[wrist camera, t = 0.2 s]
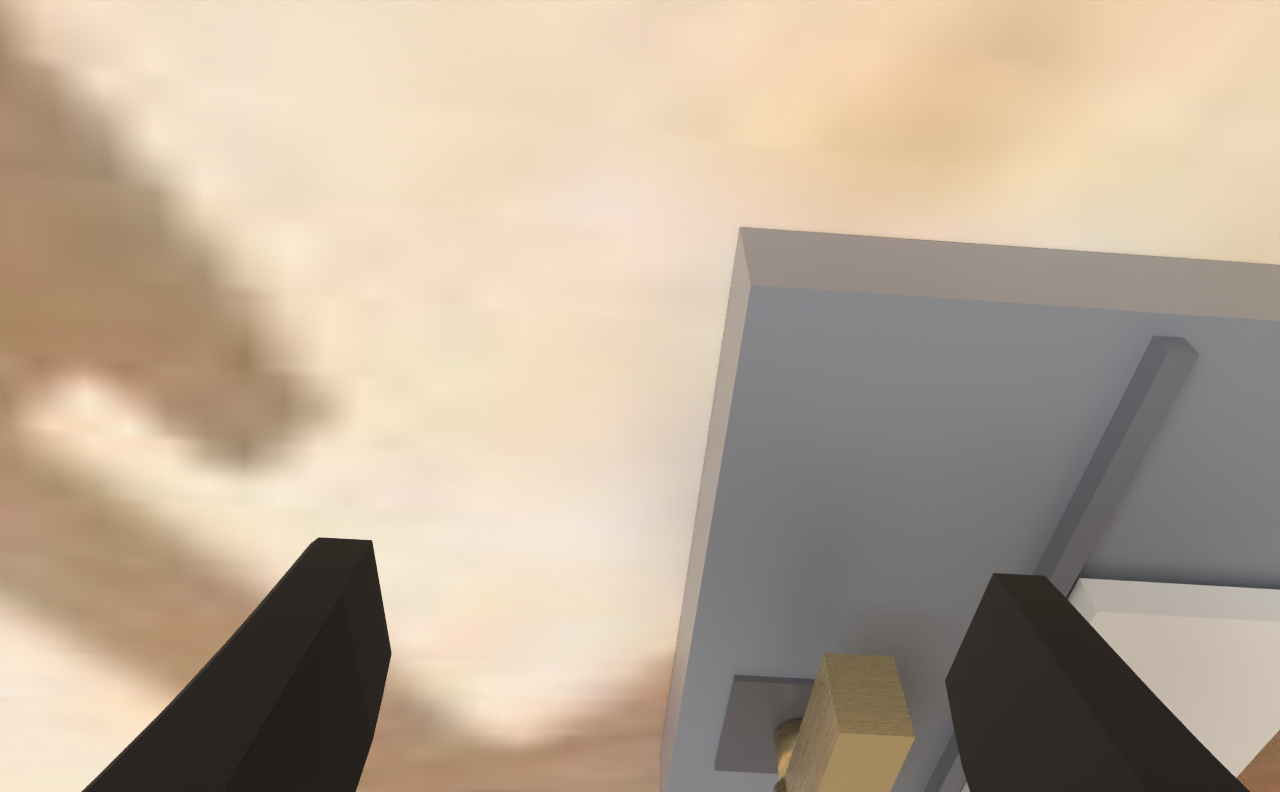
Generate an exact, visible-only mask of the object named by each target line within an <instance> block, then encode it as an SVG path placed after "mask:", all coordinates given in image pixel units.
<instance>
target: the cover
mask: <svg viewBox="0 0 1280 792" xmlns="http://www.w3.org/2000/svg"><path fill="white" fill-rule="evenodd" d="M1067 600H1068V601H1069V602H1070V603H1071V604H1072V605H1073V606H1074V607H1075V608H1076V609H1077V610H1078V612H1079V613H1080V614H1081V615H1082V616H1083V617H1084V618H1085V619H1086V620H1087V621H1088V622H1089V623H1090V625H1091V626H1092V627H1093V628H1094V629H1095V630H1096V631H1097V632H1098V633H1099V634H1100V635H1101V637H1102V638H1103V639H1104V640H1105V641H1106V642H1107V643H1108V644H1109V645H1110V646H1111V647H1112V649H1113V650H1114V651H1115V652H1116V653H1117V654H1118V655H1119V656H1120V657H1121V658H1122V659H1123V660H1124V662H1125V663H1126V664H1127V665H1128V666H1129V667H1130V668H1131V669H1132V670H1133V671H1134V672H1135V673H1136V675H1137V676H1138V677H1139V678H1140V679H1141V680H1142V681H1143V682H1144V683H1145V684H1146V685H1147V686H1148V687H1149V689H1150V690H1151V691H1152V692H1153V693H1154V694H1155V695H1156V696H1157V697H1158V698H1159V699H1160V700H1161V701H1162V702H1163V703H1164V704H1165V706H1166V707H1167V708H1168V709H1169V710H1170V711H1171V712H1172V713H1173V714H1174V715H1175V716H1176V717H1177V718H1178V719H1179V720H1180V721H1181V722H1182V723H1183V724H1184V725H1185V726H1186V728H1187V729H1188V730H1189V731H1190V732H1191V733H1192V734H1193V735H1194V736H1195V737H1196V738H1197V739H1198V740H1199V741H1200V742H1201V743H1202V744H1203V745H1204V746H1205V747H1206V748H1207V749H1208V750H1209V751H1210V752H1211V753H1212V754H1213V755H1214V756H1215V757H1216V758H1217V759H1218V760H1219V761H1220V762H1221V763H1222V764H1223V765H1224V766H1225V767H1226V768H1227V769H1228V770H1229V771H1230V772H1231V773H1232V774H1233V775H1234V776H1235V777H1236V778H1237V776H1238V775H1239V774H1240V773H1241V772H1242V771H1243V770H1244V769H1245V768H1246V766H1247V765H1248V764H1249V763H1250V762H1251V761H1252V760H1253V759H1254V757H1255V756H1256V755H1257V754H1258V753H1259V752H1260V751H1261V750H1262V749H1263V747H1264V746H1265V745H1266V744H1267V743H1268V742H1269V741H1270V740H1271V739H1272V737H1273V736H1274V735H1275V734H1276V733H1277V732H1278V731H1279V730H1280V590H1278V589H1261V588H1243V587H1226V586H1209V585H1191V584H1174V583H1156V582H1139V581H1122V580H1104V579H1087V578H1079V579H1078V581H1077V583H1076V585H1075V586H1074V588H1073V590H1072V592H1071V594H1070V595H1069V597H1068V599H1067ZM961 792H970V790H969V787H968V784H967V782H966V784H965V785H964V787H963V789H962V791H961Z"/></svg>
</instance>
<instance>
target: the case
mask: <svg viewBox="0 0 1280 792" xmlns="http://www.w3.org/2000/svg"><path fill="white" fill-rule="evenodd" d="M993 573H1003V574H1022V575H1041V576H1045V577H1046V578H1047V579H1048V580H1049V581H1050V582H1051V583H1052V584H1053V585H1054V586H1055V587H1056V588H1057V589H1058V590H1059V591H1060V592H1061V593H1062V594H1063V595H1064V596H1065V597H1066V599H1068V597H1069V595H1070V594H1071V592H1072V590H1073V588H1074V586H1075V585H1076V583H1077V581H1078V579H1079V578H1087V579H1104V580H1122V581H1139V582H1156V583H1174V584H1191V585H1209V586H1226V587H1243V588H1261V589H1278V590H1280V265H1270V264H1256V263H1241V262H1227V261H1213V260H1199V259H1184V258H1170V257H1156V256H1142V255H1128V254H1113V253H1099V252H1085V251H1071V250H1056V249H1042V248H1028V247H1014V246H1000V245H985V244H971V243H957V242H943V241H928V240H914V239H900V238H886V237H872V236H857V235H843V234H829V233H815V232H800V231H786V230H772V229H758V228H744V227H740V229H739V235H738V242H737V249H736V255H735V262H734V268H733V275H732V282H731V288H730V295H729V301H728V308H727V315H726V321H725V328H724V334H723V341H722V348H721V354H720V361H719V368H718V374H717V381H716V387H715V394H714V401H713V407H712V414H711V420H710V427H709V434H708V440H707V447H706V453H705V460H704V467H703V473H702V480H701V486H700V493H699V500H698V506H697V513H696V519H695V526H694V533H693V539H692V546H691V552H690V559H689V566H688V572H687V579H686V585H685V592H684V599H683V605H682V612H681V618H680V625H679V632H678V638H677V645H676V651H675V658H674V665H673V671H672V678H671V684H670V691H669V698H668V704H667V711H666V718H665V724H664V731H663V737H662V744H661V751H660V792H773V788H774V786H775V784H776V783H777V782H778V781H779V777H778V769H777V761H776V753H775V745H774V733H775V731H776V729H777V728H778V727H780V726H781V725H783V724H785V723H787V722H789V721H793V720H798V719H803V717H804V714H805V711H806V707H807V704H808V701H809V698H810V695H811V692H812V688H813V685H814V682H815V679H816V676H817V673H818V669H819V666H820V663H821V660H822V657H823V654H824V653H840V654H858V655H876V656H894V660H895V664H896V667H897V671H898V675H899V678H900V682H901V686H902V689H903V693H904V697H905V700H906V704H907V708H908V711H909V715H910V719H911V722H912V726H913V730H914V733H915V739H914V741H913V743H912V746H911V748H910V750H909V752H908V754H907V756H906V759H905V761H904V763H903V765H902V767H901V769H900V772H899V774H898V776H897V778H896V780H895V783H894V785H893V787H892V789H891V791H890V792H961V791H962V789H963V787H964V785H965V784H966V782H967V781H966V778H965V774H964V771H963V768H962V764H961V759H960V755H959V750H958V745H957V741H956V736H955V732H954V727H953V721H952V716H951V711H950V705H949V700H948V695H947V689H946V684H945V679H946V677H947V675H948V672H949V670H950V668H951V666H952V664H953V661H954V659H955V657H956V655H957V652H958V650H959V648H960V646H961V644H962V641H963V639H964V637H965V635H966V632H967V630H968V628H969V626H970V623H971V621H972V619H973V617H974V615H975V612H976V610H977V608H978V606H979V603H980V601H981V599H982V597H983V594H984V592H985V590H986V588H987V586H988V583H989V581H990V579H991V577H992V574H993Z"/></svg>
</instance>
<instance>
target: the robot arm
mask: <svg viewBox="0 0 1280 792" xmlns="http://www.w3.org/2000/svg"><path fill="white" fill-rule="evenodd" d="M390 658H391V648H390V642H389V636H388V630H387V625H386V619H385V613H384V607H383V601H382V595H381V590H380V584H379V578H378V572H377V566H376V560H375V555H374V549H373V543H372V540H357V539H338V538H317V539H316V540H315V541H314V542H312V543H311V544H310V545H309V546H308V547H307V549H306V550H305V551H304V552H303V553H302V555H301V556H300V557H299V558H298V559H297V561H296V562H295V563H294V564H293V565H292V567H291V568H290V569H289V570H288V571H287V572H286V574H285V575H284V576H283V577H282V578H281V580H280V581H279V582H278V583H277V584H276V586H275V587H274V588H273V589H272V590H271V591H270V593H269V594H268V595H267V596H266V597H265V598H264V600H263V601H262V602H261V603H260V604H259V605H258V607H257V608H256V609H255V610H254V611H253V612H252V614H251V615H250V616H249V617H248V618H247V619H246V620H245V622H244V623H243V624H242V625H241V626H240V627H239V628H238V630H237V631H236V632H235V633H234V634H233V635H232V636H231V638H230V639H229V640H228V641H227V642H226V643H225V644H224V645H223V646H222V647H221V649H220V650H219V651H218V652H217V653H216V654H215V655H214V656H213V657H212V658H211V659H210V661H209V662H208V663H207V664H206V665H205V666H204V667H203V668H202V669H201V670H200V671H199V673H198V674H197V675H196V676H195V677H194V678H193V679H192V680H191V681H190V682H189V683H188V684H187V686H186V687H185V688H184V689H183V690H182V691H181V692H180V693H179V694H178V695H177V696H176V698H175V699H174V700H173V701H172V702H171V703H170V704H169V705H168V706H167V707H166V708H165V709H164V710H163V711H162V712H161V713H160V714H159V715H158V716H157V717H156V718H155V719H154V720H153V721H152V722H151V723H150V724H149V725H148V726H147V727H146V728H145V729H144V730H143V731H142V732H141V733H140V734H139V735H138V736H137V737H136V738H135V739H134V740H133V741H132V742H131V743H130V744H129V745H128V746H127V747H126V748H125V749H124V750H123V751H122V752H121V753H120V754H119V755H118V756H117V757H116V758H115V759H114V760H113V761H112V762H111V763H110V764H109V765H108V766H107V767H106V768H105V769H104V770H103V771H102V772H101V773H100V774H99V775H98V776H97V777H96V778H95V779H94V780H93V781H92V782H91V783H90V784H89V785H88V786H87V787H86V788H85V789H84V790H83V791H82V792H356V789H357V786H358V783H359V780H360V777H361V774H362V771H363V768H364V765H365V762H366V759H367V756H368V753H369V750H370V747H371V743H372V740H373V737H374V732H375V728H376V723H377V719H378V714H379V710H380V706H381V701H382V697H383V692H384V687H385V682H386V677H387V673H388V668H389V663H390ZM945 684H946V689H947V695H948V700H949V705H950V711H951V716H952V721H953V727H954V732H955V736H956V741H957V745H958V750H959V755H960V759H961V764H962V768H963V771H964V774H965V778H966V781H967V784H968V787H969V790H970V792H1250V791H1249V790H1248V789H1247V788H1246V787H1245V786H1244V785H1243V784H1242V783H1241V782H1240V781H1239V780H1238V779H1237V778H1236V777H1235V776H1234V775H1233V774H1232V773H1231V772H1230V771H1229V770H1228V769H1227V768H1226V767H1225V766H1224V765H1223V764H1222V763H1221V762H1220V761H1219V760H1218V759H1217V758H1216V757H1215V756H1214V755H1213V754H1212V753H1211V752H1210V751H1209V750H1208V749H1207V748H1206V747H1205V746H1204V745H1203V744H1202V743H1201V742H1200V741H1199V740H1198V739H1197V738H1196V737H1195V736H1194V735H1193V734H1192V733H1191V732H1190V731H1189V730H1188V729H1187V728H1186V726H1185V725H1184V724H1183V723H1182V722H1181V721H1180V720H1179V719H1178V718H1177V717H1176V716H1175V715H1174V714H1173V713H1172V712H1171V711H1170V710H1169V709H1168V708H1167V707H1166V706H1165V704H1164V703H1163V702H1162V701H1161V700H1160V699H1159V698H1158V697H1157V696H1156V695H1155V694H1154V693H1153V692H1152V691H1151V690H1150V689H1149V687H1148V686H1147V685H1146V684H1145V683H1144V682H1143V681H1142V680H1141V679H1140V678H1139V677H1138V676H1137V675H1136V673H1135V672H1134V671H1133V670H1132V669H1131V668H1130V667H1129V666H1128V665H1127V664H1126V663H1125V662H1124V660H1123V659H1122V658H1121V657H1120V656H1119V655H1118V654H1117V653H1116V652H1115V651H1114V650H1113V649H1112V647H1111V646H1110V645H1109V644H1108V643H1107V642H1106V641H1105V640H1104V639H1103V638H1102V637H1101V635H1100V634H1099V633H1098V632H1097V631H1096V630H1095V629H1094V628H1093V627H1092V626H1091V625H1090V623H1089V622H1088V621H1087V620H1086V619H1085V618H1084V617H1083V616H1082V615H1081V614H1080V613H1079V612H1078V610H1077V609H1076V608H1075V607H1074V606H1073V605H1072V604H1071V603H1070V602H1069V601H1068V600H1067V599H1066V597H1065V596H1064V595H1063V594H1062V593H1061V592H1060V591H1059V590H1058V589H1057V588H1056V587H1055V586H1054V585H1053V584H1052V583H1051V582H1050V581H1049V580H1048V579H1047V578H1046V577H1045V576H1041V575H1022V574H1003V573H993V574H992V577H991V579H990V581H989V583H988V586H987V588H986V590H985V592H984V594H983V597H982V599H981V601H980V603H979V606H978V608H977V610H976V612H975V615H974V617H973V619H972V621H971V623H970V626H969V628H968V630H967V632H966V635H965V637H964V639H963V641H962V644H961V646H960V648H959V650H958V652H957V655H956V657H955V659H954V661H953V664H952V666H951V668H950V670H949V672H948V675H947V677H946V679H945Z"/></svg>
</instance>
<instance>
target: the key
mask: <svg viewBox="0 0 1280 792" xmlns="http://www.w3.org/2000/svg"><path fill="white" fill-rule="evenodd" d="M914 739H915V733H914V730H913V726H912V722H911V719H910V715H909V711H908V708H907V704H906V700H905V697H904V693H903V689H902V686H901V682H900V678H899V675H898V671H897V667H896V664H895V660H894V656H876V655H858V654H840V653H824V654H823V657H822V660H821V663H820V666H819V669H818V673H817V676H816V679H815V682H814V685H813V688H812V692H811V695H810V698H809V701H808V704H807V707H806V711H805V714H804V717H803V719H798V720H793V721H789V722H787V723H785V724H783V725H781V726H780V727H778V728H777V729H776V731H775V733H774V745H775V753H776V761H777V769H778V777H779V781H778V782H777V783H776V784H775V786H774V788H773V792H890V791H891V789H892V787H893V785H894V783H895V780H896V778H897V776H898V774H899V772H900V769H901V767H902V765H903V763H904V761H905V759H906V756H907V754H908V752H909V750H910V748H911V746H912V743H913V741H914Z"/></svg>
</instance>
